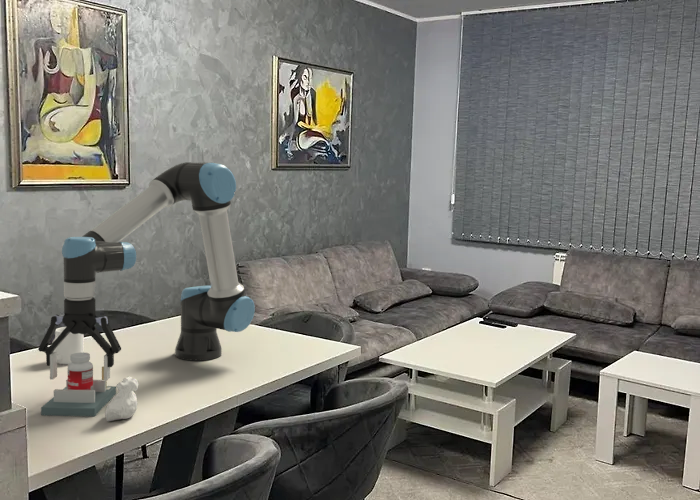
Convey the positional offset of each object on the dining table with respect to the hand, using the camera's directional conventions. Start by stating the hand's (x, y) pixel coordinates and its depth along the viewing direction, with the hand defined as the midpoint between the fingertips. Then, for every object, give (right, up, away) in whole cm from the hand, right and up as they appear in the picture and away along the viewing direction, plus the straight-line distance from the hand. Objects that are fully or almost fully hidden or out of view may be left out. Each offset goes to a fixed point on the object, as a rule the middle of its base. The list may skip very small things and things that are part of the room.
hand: (80, 378), depth 181 cm
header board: (0, -7, +1) cm, 7 cm away
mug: (-19, -2, +38) cm, 42 cm away
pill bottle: (0, -5, +1) cm, 5 cm away
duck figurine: (+14, -8, -8) cm, 18 cm away
